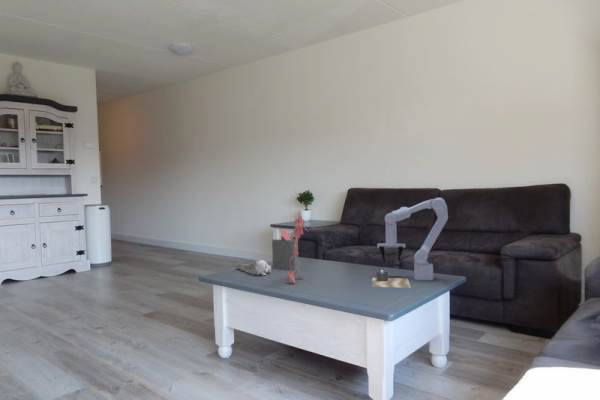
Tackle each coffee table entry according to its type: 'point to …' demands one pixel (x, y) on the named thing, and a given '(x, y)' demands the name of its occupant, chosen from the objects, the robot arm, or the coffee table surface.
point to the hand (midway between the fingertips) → (391, 261)
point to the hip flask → (283, 254)
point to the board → (392, 283)
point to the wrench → (248, 266)
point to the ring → (382, 276)
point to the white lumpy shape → (263, 267)
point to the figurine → (297, 232)
